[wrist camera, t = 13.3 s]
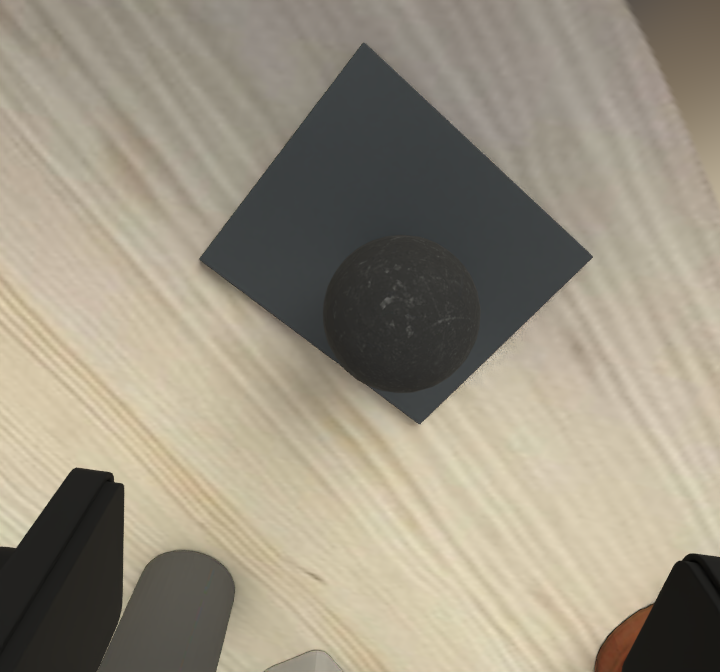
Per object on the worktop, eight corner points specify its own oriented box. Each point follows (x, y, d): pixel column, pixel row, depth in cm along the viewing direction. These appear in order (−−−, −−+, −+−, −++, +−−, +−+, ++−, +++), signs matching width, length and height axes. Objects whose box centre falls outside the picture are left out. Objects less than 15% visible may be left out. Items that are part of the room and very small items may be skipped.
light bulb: (309, 238, 28) (281, 321, 19) (415, 173, 27) (440, 227, 17) (372, 333, 30) (376, 451, 21) (474, 276, 29) (525, 374, 19)
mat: (201, 256, 29) (198, 259, 28) (363, 42, 25) (363, 42, 25) (418, 420, 32) (419, 425, 32) (590, 254, 29) (593, 257, 28)
